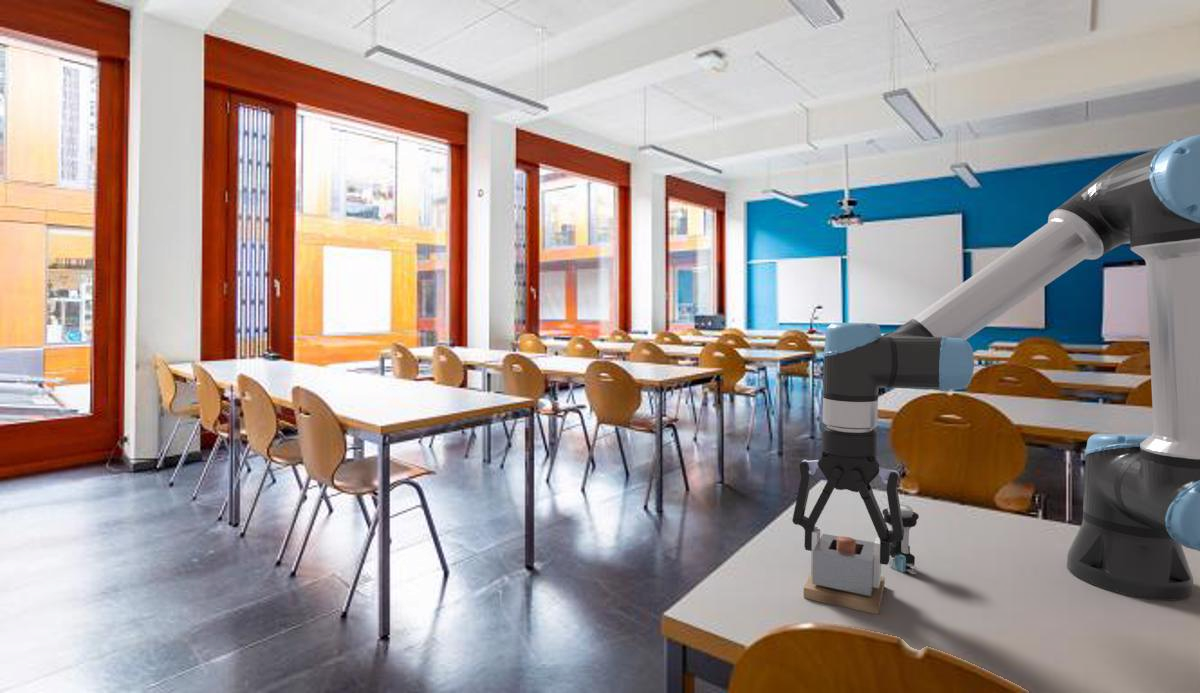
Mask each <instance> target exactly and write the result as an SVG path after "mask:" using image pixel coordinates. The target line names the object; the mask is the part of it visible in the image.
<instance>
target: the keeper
mask: <svg viewBox="0 0 1200 693" xmlns="http://www.w3.org/2000/svg"><path fill="white" fill-rule="evenodd" d="M855 539H856V538H853V537H849V536H839V537H838V538H837V551H842V552H848V553H853V554H855V546H856V540H857V539H856V540H855ZM812 577H813V575H812V574H811V573H810V576H809V577H808V579H807V581H806V583H805V585H804V586H803V598H804V599H806V600H807V599H809V600H813V601H817V602H820V603H827V604H831V605H835V606H839V607H844V608H849V609H853V610H858V611H862V612H866V613H870V614H875V615H878V614H879V610H880V606H881V602H882V598H883V594H884V590H885V582H886V581H885V580H886V578H885V576H882V575H881V582H880V585H879V588H875V587H874V588H873V592H872V595H871V596H867V595H863V594H858V593H853V592H848V591H844V590H839V589H834V588H830V587H825V586H820V585H816V584H812Z"/></svg>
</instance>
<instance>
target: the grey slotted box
mask: <svg viewBox="0 0 1200 693" xmlns="http://www.w3.org/2000/svg"><path fill="white" fill-rule="evenodd" d="M838 537H840V536H838V535H833V534H827V533H822V535H820V540H819V542H818V544H817V545H816V547H815V548H814V550H813V577H812V584H816V585H820V586H825V587H830V588H834V589H839V590H844V591H848V592H853V593H858V594H863V595H867V596H871V595H872V592H873V588H874V587H873V583H874V543H875V541H873V542H872V541H868V540H862V539H861V540H860V539H856V538H854V539H855V540H856V546H855V554H853V553H848V552H842V551H837V538H838Z"/></svg>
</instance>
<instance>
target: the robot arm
mask: <svg viewBox="0 0 1200 693" xmlns="http://www.w3.org/2000/svg"><path fill="white" fill-rule="evenodd" d="M1126 243H1129V246H1130V248H1129V249H1130V251H1132V252H1133V253H1135V254H1137V255H1138V256H1139V257H1141V258H1142V259H1143V260H1144V262H1145V269H1146V270H1145V272H1146V273H1145V274H1146V291H1147V292H1146V296H1147V318H1148V336H1149V340H1148V341H1149V358H1150V359H1149V360H1150V361H1149V362H1150V378H1151V381H1150V382H1151V402H1152V403H1151V405H1152V425H1153V432H1152V433H1151V435H1150V434H1135V433H1134V434H1133V433H1132V434H1131V433H1104V432H1103V433H1101V432H1100V433H1093V434H1092V435H1090V436H1089V438H1088V439H1087V442H1086V447H1085V448H1086V449H1085V452H1084V459H1085V463H1084V483H1083V484H1084V485H1083V486H1084V487H1083V505H1082V506H1083V508H1082V509H1083V510H1082V511H1083V513H1082V523H1081V526H1080V527H1079V530H1078V531H1077V533H1076V535H1075V538H1074V539H1073V540H1072V543H1071V545H1070V547H1069V549H1068V551H1067V556H1066V557H1067V558H1066V569H1067V570H1068V571H1069V572H1070V573H1071V574H1072V575H1074V576H1076V577H1077V578H1079V579H1081V580H1082V581H1084V582H1087V583H1089V584H1091V585H1094V586H1097V587H1099V588H1101V589H1105V590H1108V591H1112V592H1116V593H1119V594H1123V595H1126V596H1133V597H1137V598H1144V599H1150V600H1161V601H1180V600H1181V601H1182V600H1185V599H1188V598H1189V599H1190V598H1191V597H1192V596H1193V593H1194V576H1193V574H1192V571H1191V568H1190V566H1189V563H1188V560H1187V557H1186V554H1185V552H1184V549H1183V547H1185V548H1187V549H1191V550H1194V551H1198V552H1200V134H1198V135H1197V134H1196V135H1192V136H1189V137H1185V138H1184V137H1183V138H1179V139H1176V140H1173V141H1171V142H1169V143H1168V144H1165V145H1163V146H1160V147H1158V148H1156V149H1154V150H1150V151H1148V152H1145V153H1143V154H1140V155H1136V156H1134V157H1131V158H1128V159H1125V160H1123V161H1121V162H1119V163H1118V164H1115V165H1113V166H1112V167H1110V168H1109V169H1107V170H1106V171H1104V172H1102V174H1101V175H1098V176H1097V177H1096V178H1095V179H1094V180H1093V181H1091V182H1090V183H1088V184H1087V185H1086V186H1084V187H1083V188H1082V189H1081V190H1079V191H1078V192H1076V193H1075V194H1074V195H1073V196H1071V197H1070V198H1069V199H1067V200H1066V201H1065V202H1064V203H1062V204H1061V205H1060V206H1058V207H1056V208H1055V209H1054V210H1052V211H1051V212H1050V213H1049V214H1048V219H1047V223H1045V224H1044V225H1043V226H1041V227H1040V228H1038V229H1037V230H1035V231H1034V232H1033V233H1031V234H1029V236H1027V237H1026V238H1024V239H1023V240H1022V241H1020V242H1019V243H1017V244H1016V245H1015V246H1013V247H1012V248H1010V249H1009V250H1007V251H1006V252H1004V253H1003V254H1002V255H1000V256H999V257H998V258H995V260H993V261H992V262H991V263H989V264H988V265H986V266H985V267H984V268H982V269H981V270H979V271H978V272H976V273H975V274H973V275H971V277H969V278H968V279H966V280H965V281H963V282H962V283H961V284H959V285H958V286H957V287H955V288H954V289H952V290H951V291H949V292H948V293H947V294H945V295H944V296H942V297H941V298H939V299H938V300H936V301H935V302H934V303H932V304H931V305H929V306H928V307H927V308H925V309H924V310H922V311H921V312H920V313H918V314H917V315H915V316H914V317H912V319H910V320H908V321H907V322H905V323H904V324H902V325H901V326H900V327H898V328H897V329H895V330H894V331H889V332H886V333H884V334H882V333H881V326H880V325H879V324H877V323H874V322H870V323H869V322H833V323H830V324H829V325H828V326H827V328H826V330H825V339H824V341H825V342H824V350H823V353H822V355H823V396H822V423H823V424H824V425H825V426H824V427H823V428H822V430H821V432H822V433H821V437H822V438H821V441H822V442H821V455H820V458H819V459H814V460H810V459H809V458H804V459H803V460H802V461H801V462H800V463H799V470H800V476H801V477H800V482H799V487H798V491H797V496H796V501H795V505H794V511H793V515H792V523H793V524H794V525H796V526H797V525H798V526H801V528H803V530H804V549H805V550H806V551H809V552H811V558H810V559H811V560H810V575H811V574H812V575H813V550H814V548H815V547H816V545H817V544H818V542H819V540H820V538H821V527H817V526H816V525H817V522H818V521H819V518H820V516H821V515H822V513H823V511H824V509H825V507H826V505H827V503H828V501H829V499H830V498H831V495H832V493H833V492H834V489H835V490H839V491H843V490H847V491H850V492H853V493H859V495H860V498H861V499H862V501H863V503H864V505H865V508H866V510H867V513H868V514H869V517H870V519H871V522H872V525H873V527H874V529H875V532H876V534H877V536H878V537H877V536H876V537H875V540H874V583H873V587H875V588H879V585H880V582H881V576H882V565H886V566H888V565H889V563H888V562H889V559H890V543H891V542H895V541H897V542H901V541H902V540H903V537H904V528H903V521H902V515H901V509H900V504H901V503H900V498H899V491H898V490H899V489H898V482H899V477H900V471H899V470H898V469H897V468H893V469H888V468H884V467H881V466H880V464H879V463H878V459H877V451H878V450H877V449H878V443H877V442H878V432H877V431H876V430H875V429H874V428H876V427H877V426H878V416H879V415H878V413H879V412H878V411H879V409H878V406H879V405H878V404H879V389H880V388H881V389H882V388H883V389H913V390H915V389H916V390H938V391H941V392H943V391H945V390H946V391H947V390H948V391H949V390H963V389H965V388H966V387H968V386H969V384H970V383H971V381H972V379H973V375H974V371H975V370H974V368H975V357H974V352H973V349H972V346H971V344H970V342H968V340H969V338H971V337H972V336H974V335H975V334H976V333H978V332H979V331H982V329H984V328H986V327H987V326H988V325H990V324H991V323H992V322H994V321H996V320H997V319H999V318H1000V317H1002V316H1003V315H1005V314H1007V312H1009V311H1010V310H1012V309H1013V308H1015V307H1016V306H1017V305H1020V304H1021V303H1022V302H1024V301H1025V300H1027V299H1028V298H1029V297H1031V296H1033V295H1034V294H1036V293H1037V292H1038V291H1040V290H1042V289H1043V288H1044V287H1046V286H1047V285H1049V284H1050V283H1052V282H1053V281H1055V280H1056V279H1058V278H1059V277H1060V276H1062V275H1064V274H1065V273H1067V272H1068V271H1069V270H1070V269H1072V268H1074V267H1075V266H1077V265H1078V264H1079V263H1081V262H1082V261H1084V260H1098V259H1099V258H1100V257H1102V256H1103V255H1105V254H1106V253H1108V252H1110V251H1112V250H1113V249H1115V248H1117V247H1119V246H1121V245H1124V244H1126ZM817 469H820V471H821V473H822V474H823V476H824V477H825V478H826V480H827V481H826V483H825V485H824V487H823V489H822V491H821V493H820V494H819V497H818V499H817V500H816V503H815V504H814V506H813V508H812V511H811V512H810V513H809V516H805V513H806V512H805V511H806V508H807V504H808V498H809V495H810V489H811V485H812V479H813V475H815V474H816V473H817ZM877 476H879V477H880V478H881V482H882V484H884V485H885V486H886V496H887V501H888V508H889V510H890V516H891V522H892V529H893V530H891V529H890V530H889V528H888V525H887V523H886V522H885V520H884V515H883V512H881V508H880V506H879V504H878V502H877V499H876V497H875V495H874V491H873V488H872V486H871V483H872V481H873V480H874V479H875V478H876V477H877Z"/></svg>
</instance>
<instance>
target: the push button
mask: <svg viewBox="0 0 1200 693" xmlns="http://www.w3.org/2000/svg"><path fill="white" fill-rule="evenodd" d="M900 509H901V515H902V521H903V528H904V537H903V540H902V541H901V542H897V541H895V542H891V543H890V559H889V562H888V566H889V567H890V568H895V569H896V570H898V571H899V572H900V573H910V574H911V575H917V572H915V570H914V569H917V566H915V562H916V561H915V560H916V559H915V558H916V557H915V555H914V554H912V553H911V550H910V549H911V546H910V544H909V543H910V542H909V541H910V540H909V539H910V530H911V528H912V527H916V525H917V523H918V522H917V521H918V519H919V516H920V515H919V513H916V512H915V511H914V510H913V507H911V506H910V505H906V504H901V503H900ZM882 515H883V518H884V520H885V522H886V524H888V525H889V526H890V531H891V530H893V529H892V522H891V516H890V510H889V507H888V508H884V509H883V510H882Z"/></svg>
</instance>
